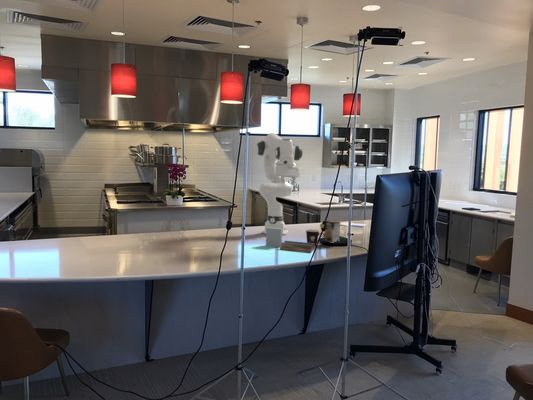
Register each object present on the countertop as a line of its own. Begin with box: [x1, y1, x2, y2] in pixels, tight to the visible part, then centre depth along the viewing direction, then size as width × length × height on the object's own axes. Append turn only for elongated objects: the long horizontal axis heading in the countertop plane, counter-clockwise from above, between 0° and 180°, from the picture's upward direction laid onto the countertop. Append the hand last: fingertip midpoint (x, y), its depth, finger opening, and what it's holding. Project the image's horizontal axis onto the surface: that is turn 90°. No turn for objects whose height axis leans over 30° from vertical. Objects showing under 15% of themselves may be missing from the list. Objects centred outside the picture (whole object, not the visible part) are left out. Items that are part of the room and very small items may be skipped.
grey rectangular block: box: [265, 227, 283, 248], centre depth 302 cm, size 3×10×12 cm, turn 71°
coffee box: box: [323, 219, 341, 243], centre depth 312 cm, size 9×6×16 cm
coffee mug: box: [305, 229, 324, 246], centre depth 307 cm, size 12×9×10 cm
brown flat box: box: [279, 240, 316, 254], centre depth 295 cm, size 14×20×4 cm
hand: (288, 183), depth 300 cm, fingers open, 8 cm apart
